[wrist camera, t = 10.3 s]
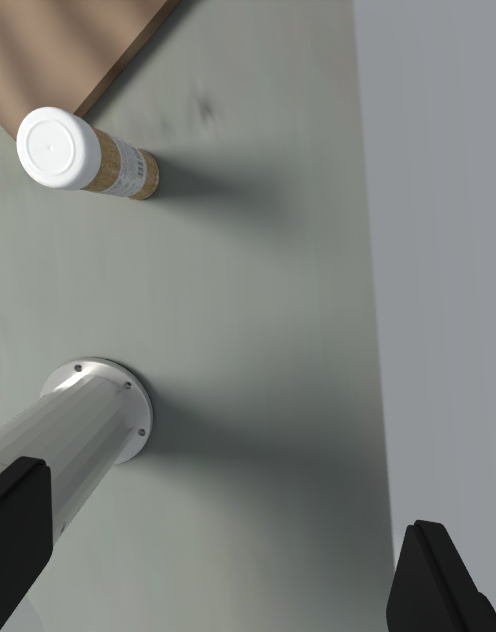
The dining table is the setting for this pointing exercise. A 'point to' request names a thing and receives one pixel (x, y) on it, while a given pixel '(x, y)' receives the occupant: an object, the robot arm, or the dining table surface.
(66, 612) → the dining table surface
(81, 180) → the sprinkles bottle
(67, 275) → the dining table surface
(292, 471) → the dining table surface
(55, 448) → the robot arm
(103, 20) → the dial board
